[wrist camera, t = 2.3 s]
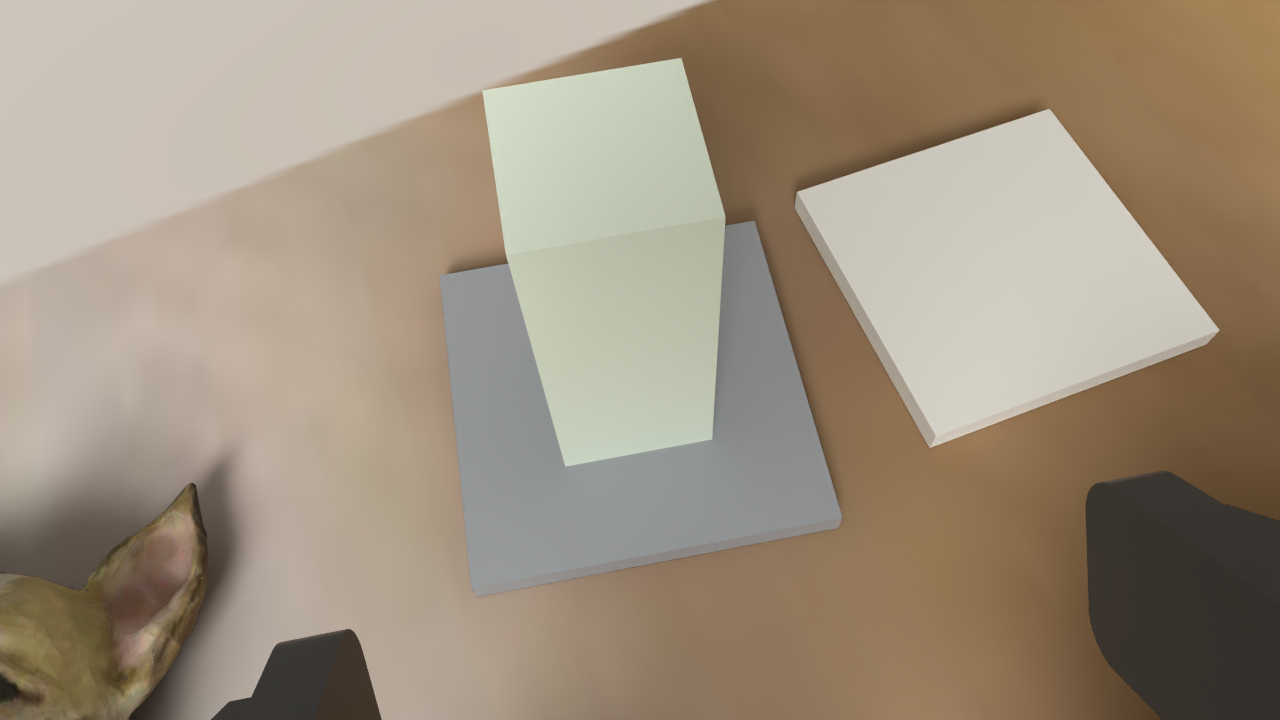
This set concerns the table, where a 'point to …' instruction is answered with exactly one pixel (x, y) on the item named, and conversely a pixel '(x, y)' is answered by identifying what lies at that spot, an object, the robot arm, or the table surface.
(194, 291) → the table surface
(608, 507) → the post stand
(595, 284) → the pale green pillar
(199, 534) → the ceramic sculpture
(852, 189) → the mat
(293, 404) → the table surface
